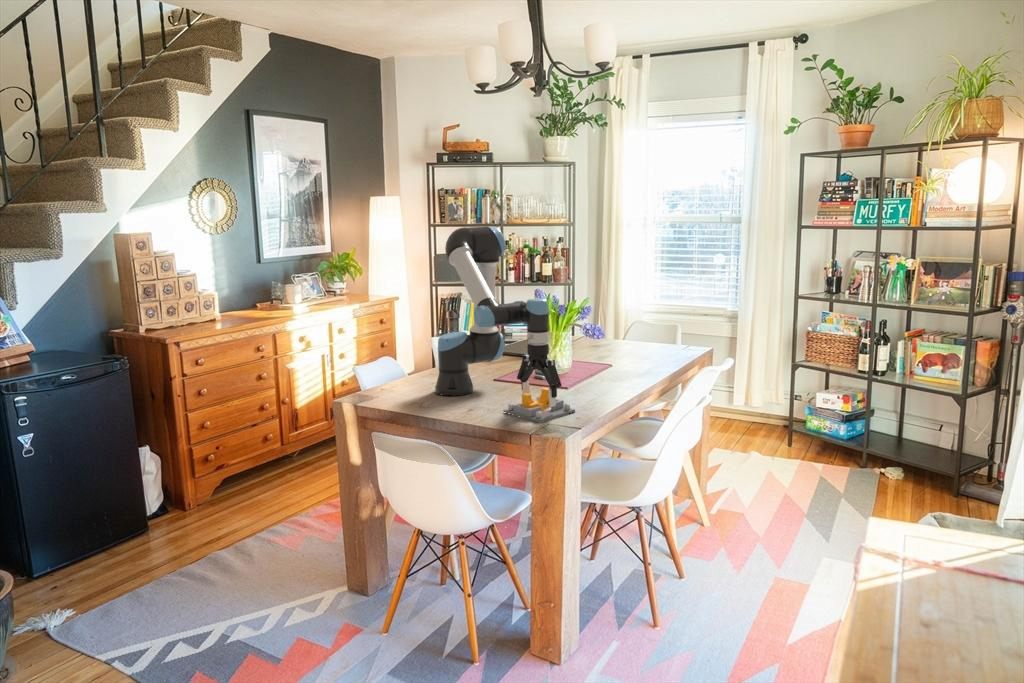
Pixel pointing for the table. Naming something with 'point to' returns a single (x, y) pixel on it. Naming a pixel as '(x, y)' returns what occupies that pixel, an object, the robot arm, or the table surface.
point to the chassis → (540, 411)
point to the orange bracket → (541, 402)
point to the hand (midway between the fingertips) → (539, 402)
